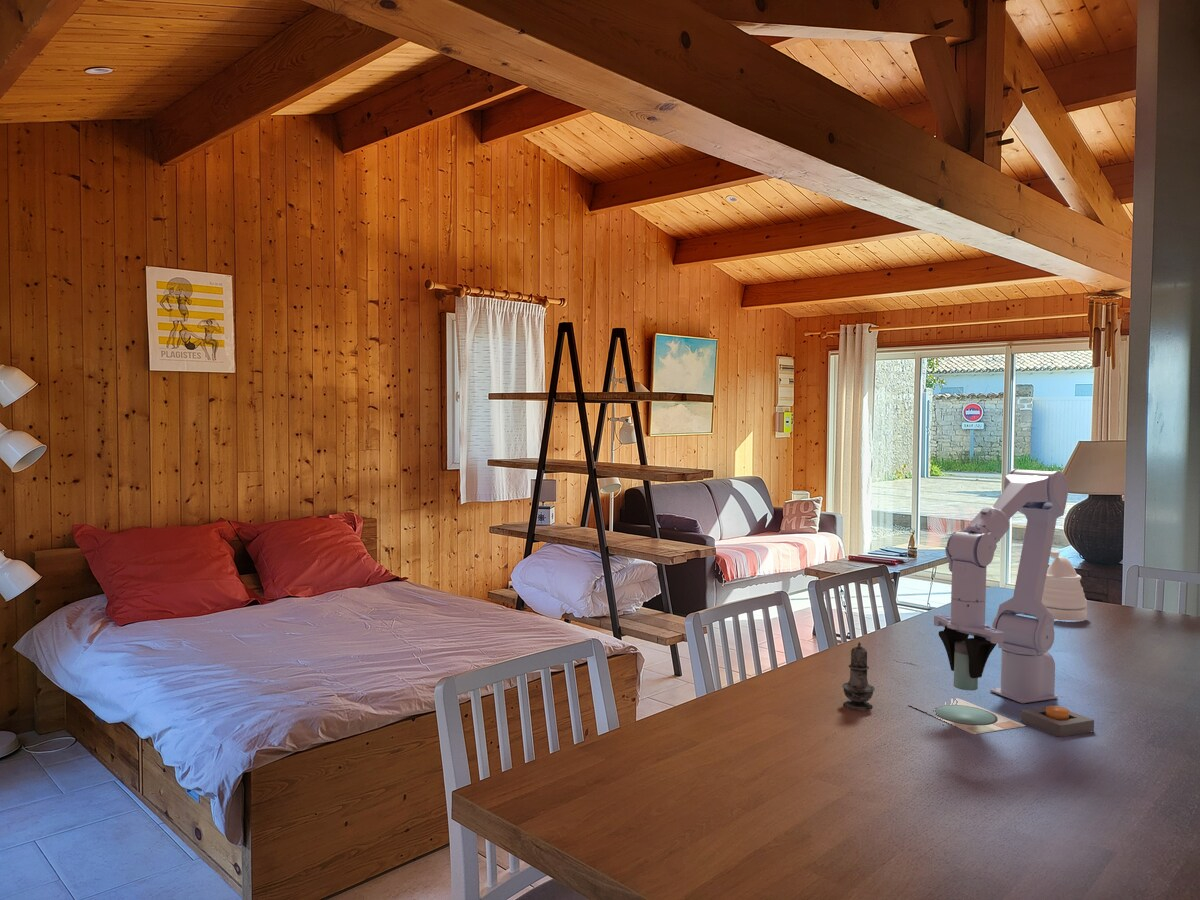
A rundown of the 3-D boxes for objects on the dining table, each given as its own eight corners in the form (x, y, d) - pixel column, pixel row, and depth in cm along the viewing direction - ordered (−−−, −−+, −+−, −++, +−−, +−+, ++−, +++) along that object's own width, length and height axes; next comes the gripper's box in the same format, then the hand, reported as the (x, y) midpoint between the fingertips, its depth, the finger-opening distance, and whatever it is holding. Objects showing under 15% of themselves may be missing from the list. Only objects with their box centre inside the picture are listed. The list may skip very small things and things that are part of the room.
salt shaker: (876, 712, 159) (877, 647, 158) (842, 709, 160) (844, 645, 160) (872, 702, 165) (874, 639, 164) (840, 699, 166) (841, 637, 165)
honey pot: (1042, 621, 234) (1044, 554, 233) (1027, 611, 246) (1029, 547, 246) (1094, 623, 232) (1096, 556, 231) (1076, 613, 244) (1078, 549, 244)
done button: (1055, 713, 155) (1056, 704, 155) (1073, 720, 152) (1074, 711, 152) (1040, 715, 154) (1041, 706, 154) (1058, 722, 150) (1058, 713, 150)
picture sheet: (957, 698, 167) (957, 697, 167) (1026, 726, 153) (1026, 725, 153) (907, 705, 163) (907, 704, 163) (973, 734, 148) (973, 733, 148)
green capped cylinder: (965, 682, 160) (966, 639, 160) (982, 689, 156) (983, 644, 156) (948, 685, 159) (949, 641, 158) (965, 691, 155) (966, 646, 155)
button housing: (1054, 716, 158) (1054, 705, 158) (1093, 731, 150) (1094, 719, 150) (1021, 721, 155) (1021, 710, 155) (1059, 737, 147) (1060, 725, 147)
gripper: (921, 592, 162) (919, 665, 163) (982, 608, 149) (980, 687, 149) (951, 590, 165) (949, 661, 165) (1013, 606, 151) (1011, 683, 152)
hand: (966, 673), depth 157 cm, fingers closed on green capped cylinder, 4 cm apart
